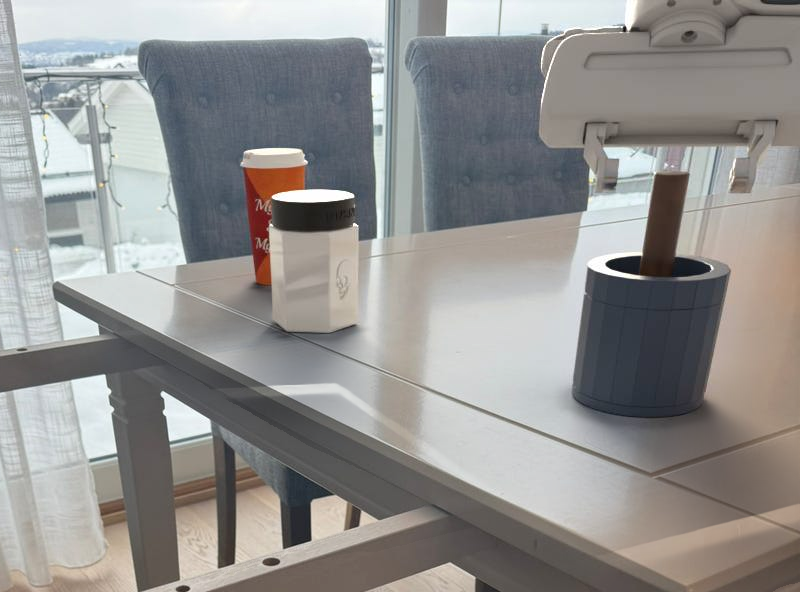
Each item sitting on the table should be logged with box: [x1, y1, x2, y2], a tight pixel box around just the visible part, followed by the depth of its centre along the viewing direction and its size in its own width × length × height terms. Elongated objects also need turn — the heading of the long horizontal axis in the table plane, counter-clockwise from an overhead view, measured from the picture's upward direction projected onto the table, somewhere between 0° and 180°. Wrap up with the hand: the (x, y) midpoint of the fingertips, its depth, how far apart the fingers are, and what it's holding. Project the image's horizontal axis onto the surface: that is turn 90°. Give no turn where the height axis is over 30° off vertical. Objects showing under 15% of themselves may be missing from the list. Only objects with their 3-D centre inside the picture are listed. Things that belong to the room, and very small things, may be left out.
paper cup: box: [239, 147, 309, 287], centre depth 109 cm, size 8×8×14 cm
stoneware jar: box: [571, 251, 732, 418], centre depth 73 cm, size 10×10×10 cm
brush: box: [639, 170, 691, 277], centre depth 71 cm, size 5×5×16 cm
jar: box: [269, 189, 359, 334], centre depth 93 cm, size 9×8×12 cm
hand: (672, 188), depth 68 cm, fingers open, 8 cm apart
